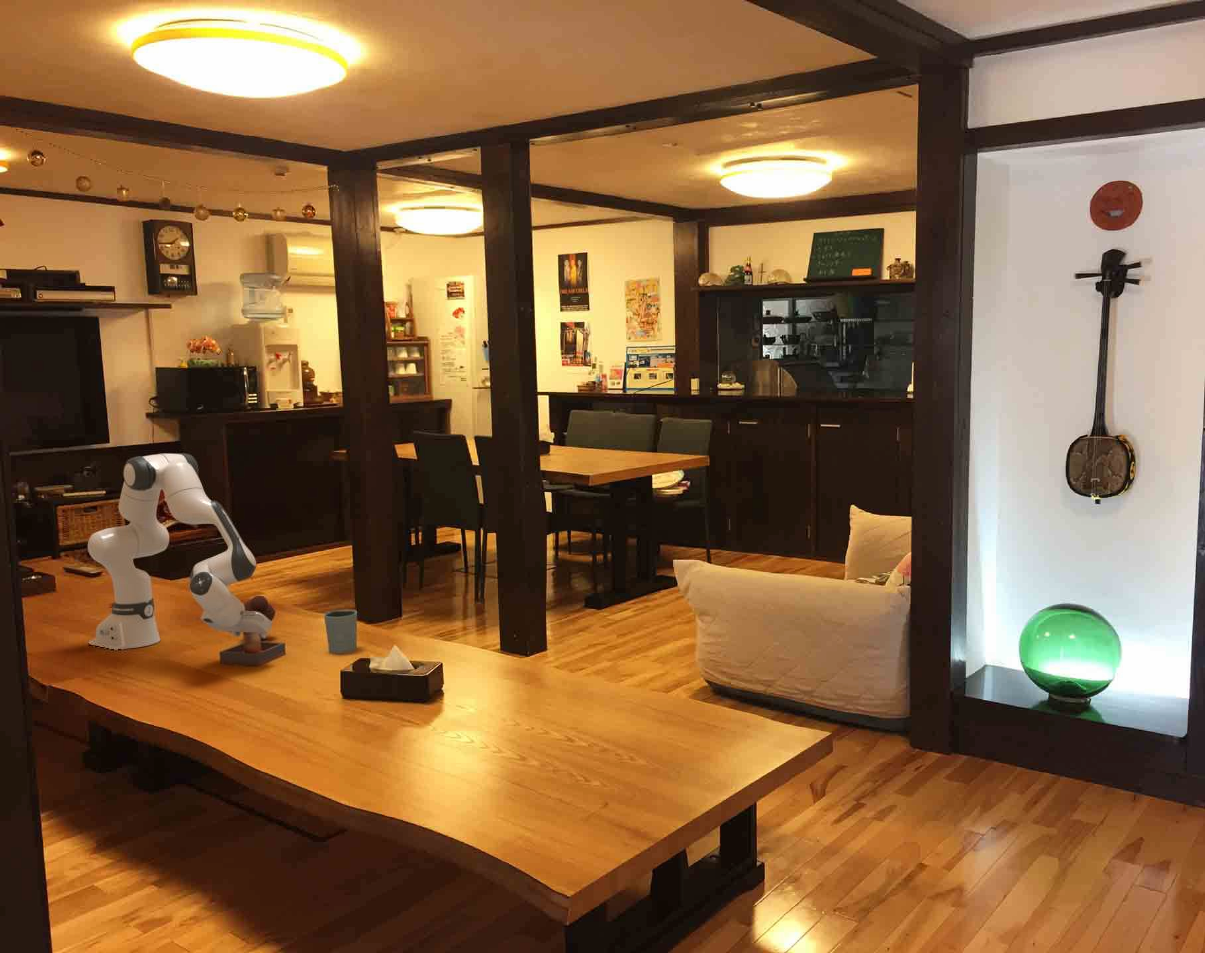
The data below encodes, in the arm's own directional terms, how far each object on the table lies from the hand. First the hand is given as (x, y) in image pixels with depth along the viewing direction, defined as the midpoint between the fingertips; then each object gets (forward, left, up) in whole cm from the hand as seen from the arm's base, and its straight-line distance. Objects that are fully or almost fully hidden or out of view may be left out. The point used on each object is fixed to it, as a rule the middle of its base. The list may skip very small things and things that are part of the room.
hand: (251, 635), depth 316 cm
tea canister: (0, 0, -7) cm, 7 cm away
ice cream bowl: (-12, +19, -8) cm, 24 cm away
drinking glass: (+22, +15, -8) cm, 28 cm away
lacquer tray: (0, 0, -7) cm, 7 cm away
